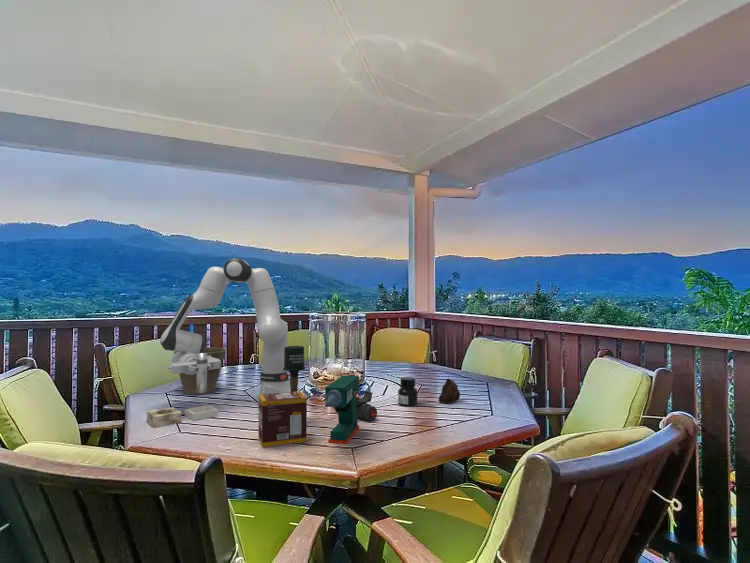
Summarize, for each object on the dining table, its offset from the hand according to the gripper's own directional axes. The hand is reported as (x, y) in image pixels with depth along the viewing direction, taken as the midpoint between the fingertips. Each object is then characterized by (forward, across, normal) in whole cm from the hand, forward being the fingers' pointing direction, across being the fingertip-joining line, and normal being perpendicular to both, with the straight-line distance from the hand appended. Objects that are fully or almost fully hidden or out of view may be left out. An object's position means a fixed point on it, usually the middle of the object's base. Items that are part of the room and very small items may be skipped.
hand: (202, 368), depth 184 cm
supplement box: (+48, +10, +20) cm, 53 cm away
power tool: (+62, +25, +20) cm, 70 cm away
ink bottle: (+43, +79, +20) cm, 92 cm away
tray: (-1, 0, +20) cm, 20 cm away
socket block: (-2, -14, +20) cm, 25 cm away
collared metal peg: (-1, 0, +10) cm, 10 cm away
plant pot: (-45, +15, +20) cm, 52 cm away
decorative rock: (+52, +97, +20) cm, 112 cm away
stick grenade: (+32, +24, +20) cm, 45 cm away
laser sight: (+41, +49, +20) cm, 67 cm away
